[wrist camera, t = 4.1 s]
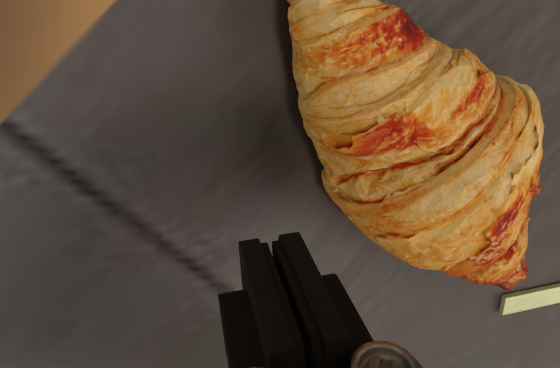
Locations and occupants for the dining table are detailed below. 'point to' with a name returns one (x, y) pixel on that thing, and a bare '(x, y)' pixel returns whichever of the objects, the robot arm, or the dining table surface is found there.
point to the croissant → (418, 139)
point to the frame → (530, 299)
